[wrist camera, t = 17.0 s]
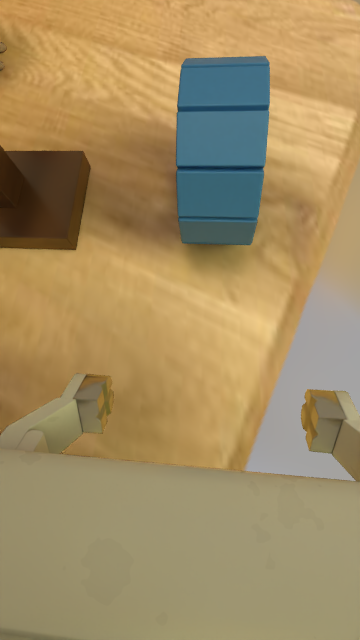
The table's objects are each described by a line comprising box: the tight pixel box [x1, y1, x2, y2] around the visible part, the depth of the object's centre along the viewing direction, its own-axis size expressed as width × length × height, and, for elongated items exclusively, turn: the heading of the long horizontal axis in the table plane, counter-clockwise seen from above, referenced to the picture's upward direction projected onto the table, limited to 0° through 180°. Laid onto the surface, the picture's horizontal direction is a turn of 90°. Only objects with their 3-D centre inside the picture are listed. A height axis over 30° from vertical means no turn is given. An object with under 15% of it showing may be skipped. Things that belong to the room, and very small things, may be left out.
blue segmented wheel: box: [176, 56, 270, 245], centre depth 22 cm, size 4×10×10 cm, turn 175°
